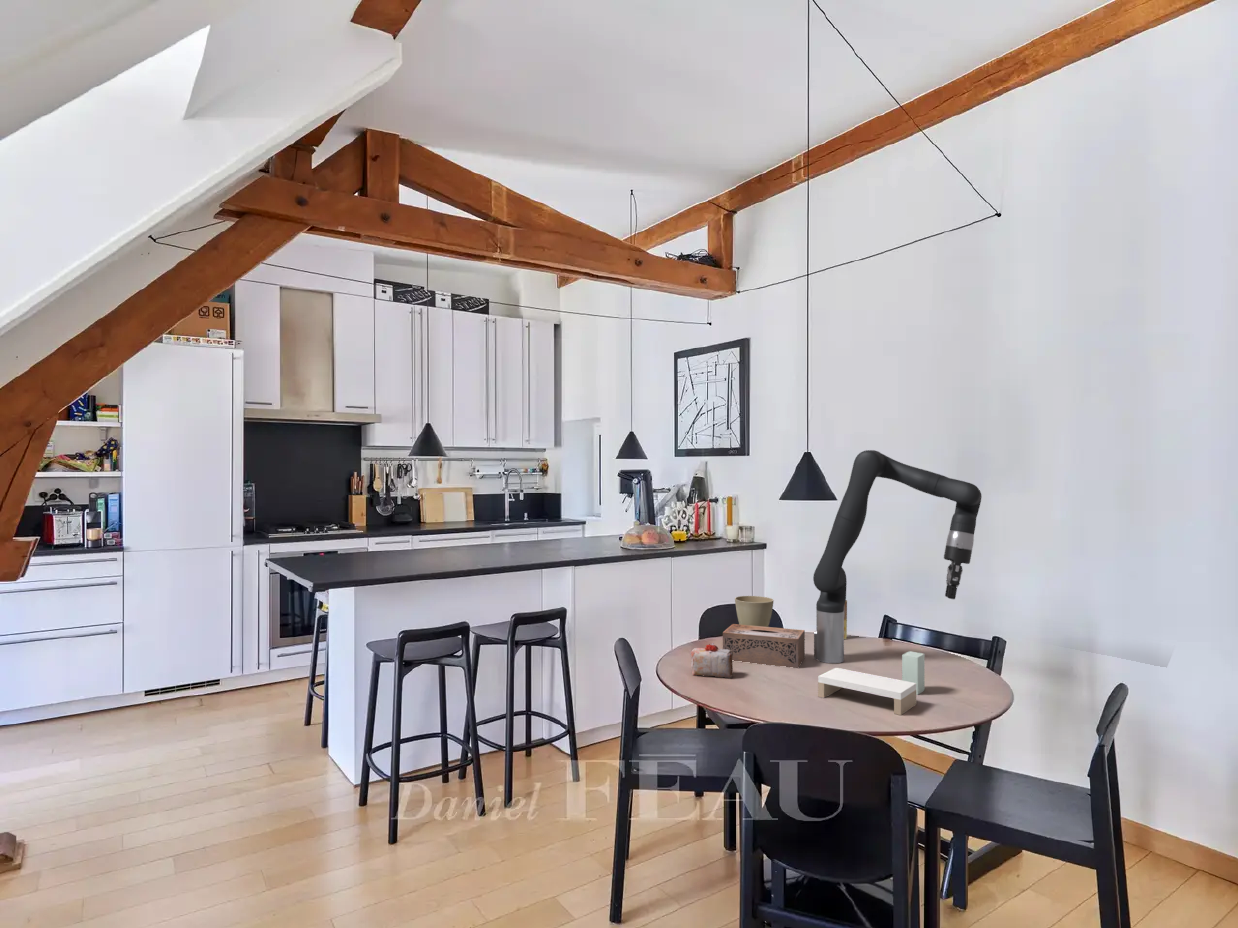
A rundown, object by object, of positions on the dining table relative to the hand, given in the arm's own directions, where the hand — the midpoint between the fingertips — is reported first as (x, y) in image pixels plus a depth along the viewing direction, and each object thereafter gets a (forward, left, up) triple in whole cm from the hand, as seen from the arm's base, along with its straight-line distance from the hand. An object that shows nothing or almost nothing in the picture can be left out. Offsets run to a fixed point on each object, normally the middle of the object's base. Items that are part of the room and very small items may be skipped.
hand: (949, 598), depth 225 cm
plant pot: (-75, +9, -27) cm, 80 cm away
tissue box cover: (-58, -13, -27) cm, 65 cm away
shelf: (-13, -33, -27) cm, 44 cm away
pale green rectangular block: (-6, -15, -27) cm, 31 cm away
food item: (-61, -41, -27) cm, 78 cm away
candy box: (-52, +31, -27) cm, 66 cm away
